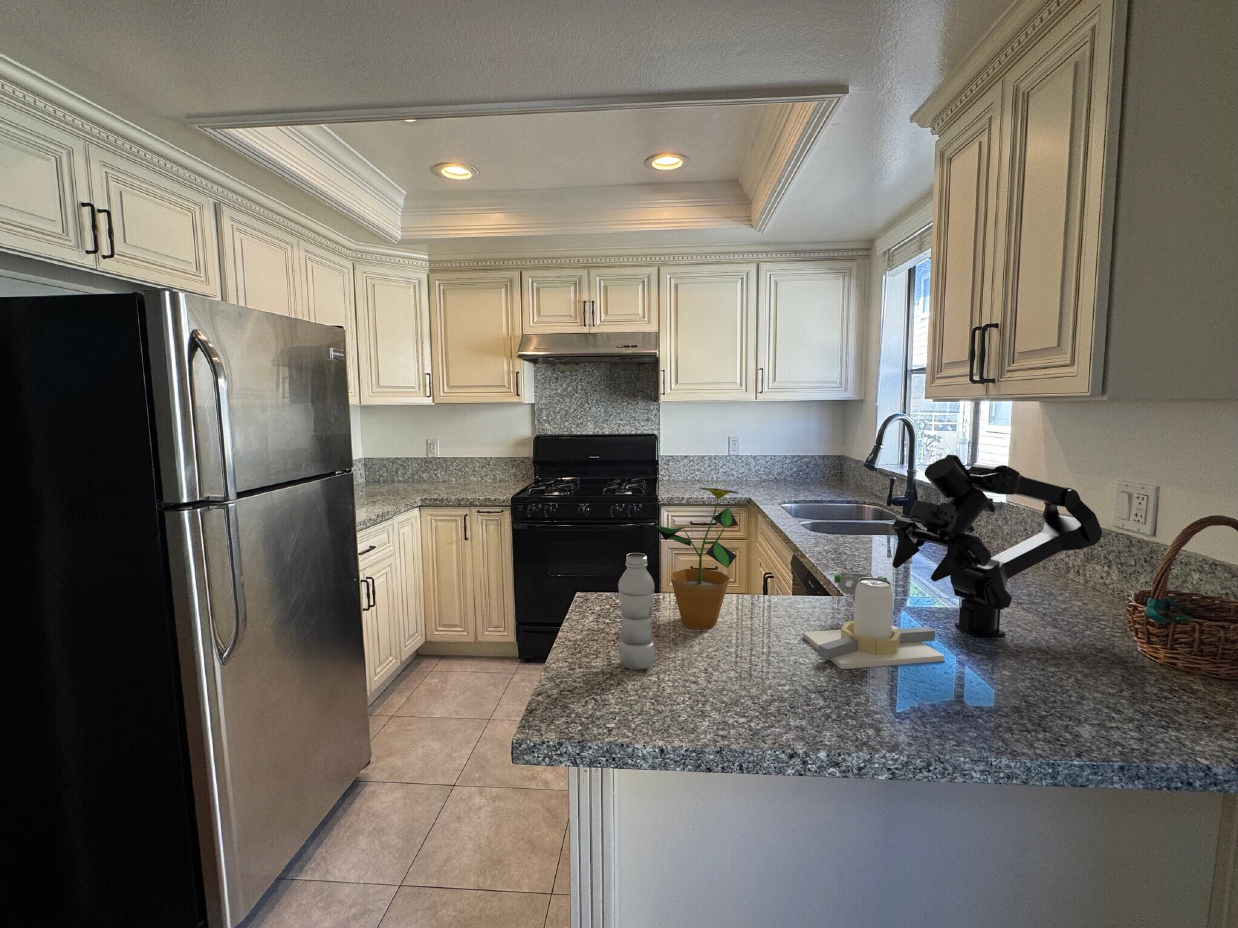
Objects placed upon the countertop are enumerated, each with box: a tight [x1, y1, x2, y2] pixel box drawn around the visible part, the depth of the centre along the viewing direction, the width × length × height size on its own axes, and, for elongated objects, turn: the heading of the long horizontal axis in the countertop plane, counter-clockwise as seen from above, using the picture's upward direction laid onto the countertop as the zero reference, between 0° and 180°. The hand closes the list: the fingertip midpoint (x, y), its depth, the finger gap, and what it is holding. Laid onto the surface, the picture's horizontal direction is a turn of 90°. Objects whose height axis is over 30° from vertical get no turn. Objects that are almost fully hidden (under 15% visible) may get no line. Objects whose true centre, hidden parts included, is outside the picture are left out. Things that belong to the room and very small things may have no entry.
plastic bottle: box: [617, 552, 656, 671], centre depth 96 cm, size 6×7×20 cm
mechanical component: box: [833, 572, 888, 602], centre depth 117 cm, size 3×10×10 cm, turn 78°
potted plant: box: [654, 487, 739, 630], centre depth 116 cm, size 18×19×30 cm
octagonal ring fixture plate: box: [802, 620, 945, 670], centre depth 104 cm, size 25×14×4 cm, turn 99°
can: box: [853, 576, 894, 640], centre depth 103 cm, size 6×6×12 cm
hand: (912, 573), depth 106 cm, fingers open, 9 cm apart
